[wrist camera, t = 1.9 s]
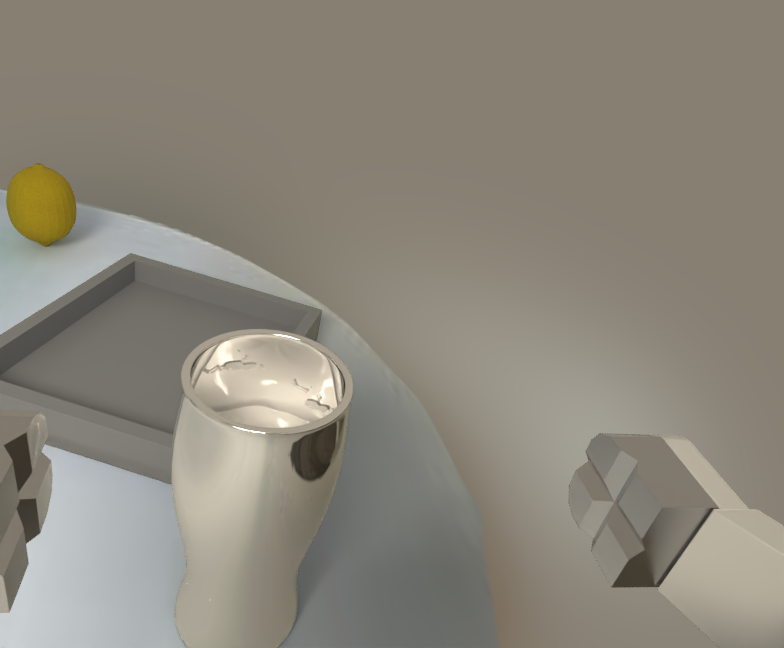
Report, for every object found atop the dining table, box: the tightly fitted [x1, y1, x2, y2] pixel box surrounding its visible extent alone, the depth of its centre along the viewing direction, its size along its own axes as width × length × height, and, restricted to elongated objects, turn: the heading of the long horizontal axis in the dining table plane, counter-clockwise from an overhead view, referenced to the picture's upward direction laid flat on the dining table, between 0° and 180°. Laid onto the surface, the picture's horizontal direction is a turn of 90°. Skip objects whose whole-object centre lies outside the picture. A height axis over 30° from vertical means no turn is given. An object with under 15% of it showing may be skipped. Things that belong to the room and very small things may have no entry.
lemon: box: [6, 164, 76, 246], centre depth 54 cm, size 6×6×8 cm
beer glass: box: [171, 329, 353, 648], centre depth 26 cm, size 7×7×15 cm
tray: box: [0, 253, 322, 484], centre depth 44 cm, size 18×20×3 cm
